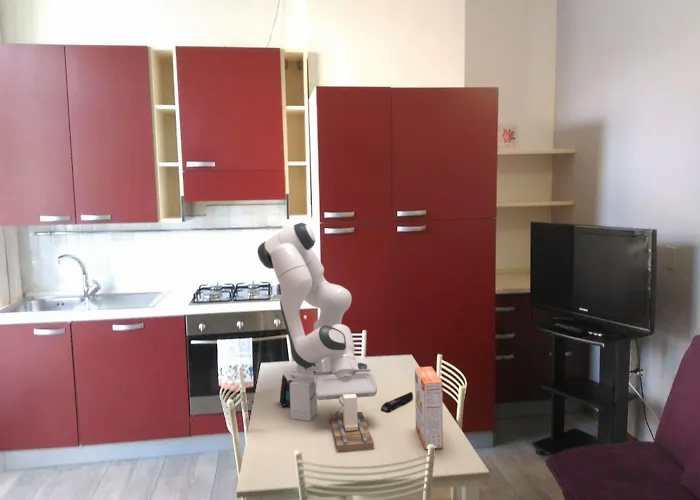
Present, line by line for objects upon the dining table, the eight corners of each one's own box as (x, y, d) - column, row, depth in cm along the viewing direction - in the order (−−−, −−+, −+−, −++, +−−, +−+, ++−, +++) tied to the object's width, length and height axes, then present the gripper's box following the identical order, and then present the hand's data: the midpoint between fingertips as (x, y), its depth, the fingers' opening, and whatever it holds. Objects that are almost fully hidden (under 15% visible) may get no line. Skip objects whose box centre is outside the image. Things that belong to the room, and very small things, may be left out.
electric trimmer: (415, 401, 194) (415, 393, 194) (388, 414, 183) (388, 405, 183) (407, 398, 197) (407, 390, 196) (379, 411, 186) (379, 402, 185)
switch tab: (343, 423, 170) (342, 393, 169) (355, 422, 171) (355, 392, 170) (345, 431, 166) (344, 399, 164) (358, 429, 166) (357, 398, 165)
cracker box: (414, 428, 171) (414, 366, 169) (432, 427, 172) (432, 365, 169) (423, 450, 157) (423, 382, 155) (443, 449, 158) (443, 381, 155)
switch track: (329, 419, 179) (329, 411, 179) (361, 417, 180) (361, 408, 180) (337, 452, 157) (337, 442, 157) (373, 448, 159) (373, 439, 158)
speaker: (277, 407, 189) (279, 379, 188) (279, 401, 195) (281, 374, 194) (298, 409, 189) (300, 381, 188) (300, 403, 195) (302, 376, 194)
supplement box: (310, 421, 178) (309, 385, 177) (290, 418, 180) (288, 383, 179) (318, 412, 185) (317, 377, 184) (298, 409, 187) (297, 375, 186)
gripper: (313, 368, 174) (316, 408, 166) (374, 364, 177) (380, 404, 169) (312, 376, 179) (315, 416, 171) (372, 372, 182) (378, 411, 174)
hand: (348, 410), depth 170 cm, fingers closed, pressing on switch tab
